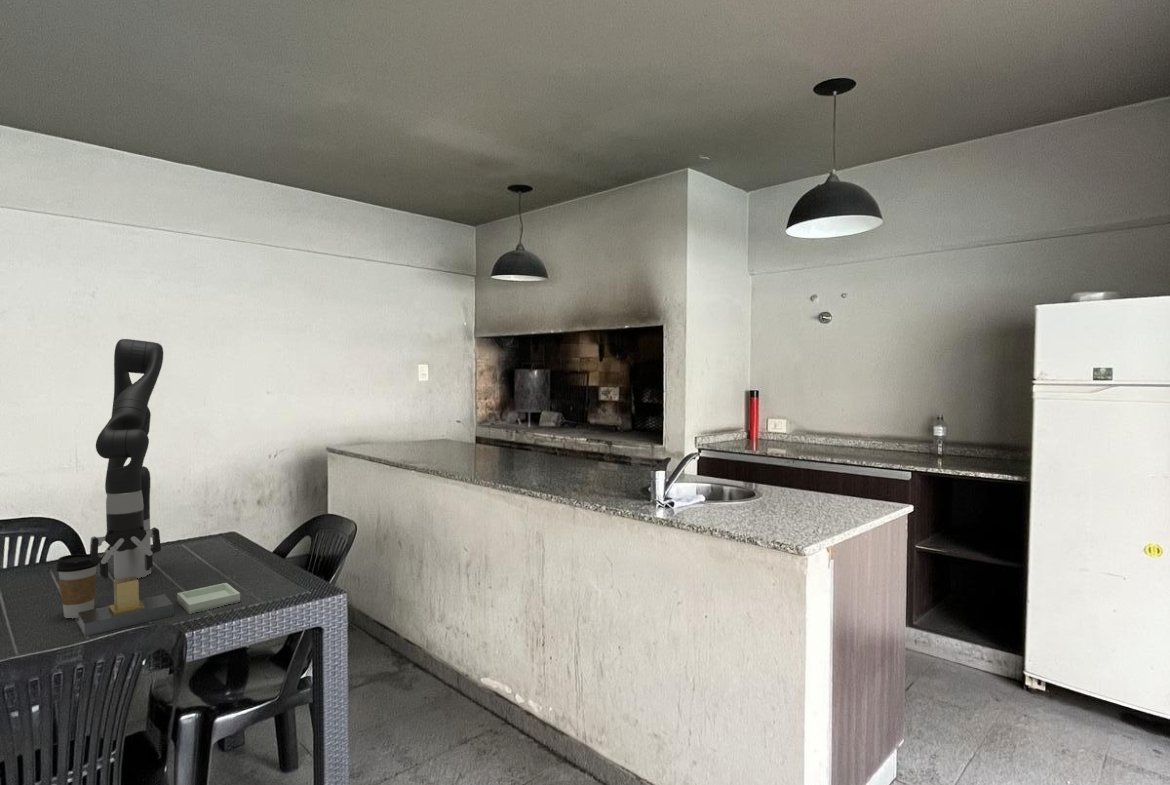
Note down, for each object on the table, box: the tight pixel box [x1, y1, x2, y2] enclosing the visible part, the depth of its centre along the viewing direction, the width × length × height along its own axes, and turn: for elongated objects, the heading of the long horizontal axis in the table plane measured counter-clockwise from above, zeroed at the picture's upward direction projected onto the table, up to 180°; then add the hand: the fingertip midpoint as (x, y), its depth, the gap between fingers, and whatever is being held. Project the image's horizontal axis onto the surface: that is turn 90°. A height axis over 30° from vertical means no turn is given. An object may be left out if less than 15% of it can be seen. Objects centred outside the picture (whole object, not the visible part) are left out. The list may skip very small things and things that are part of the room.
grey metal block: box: [77, 593, 175, 637], centre depth 159 cm, size 10×18×3 cm, turn 135°
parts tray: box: [176, 582, 241, 615], centre depth 171 cm, size 12×12×2 cm
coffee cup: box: [56, 553, 99, 620], centre depth 163 cm, size 8×8×15 cm
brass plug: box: [108, 576, 145, 615], centre depth 159 cm, size 6×6×10 cm
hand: (126, 573), depth 159 cm, fingers open, 8 cm apart
